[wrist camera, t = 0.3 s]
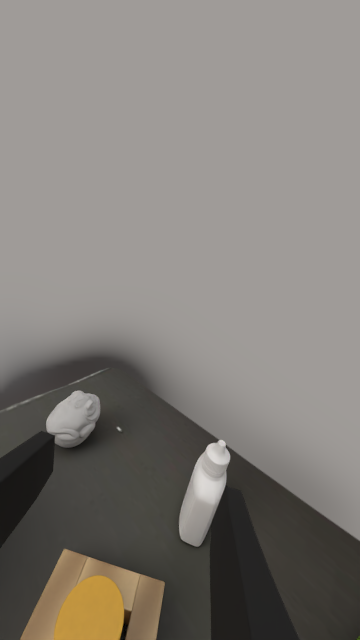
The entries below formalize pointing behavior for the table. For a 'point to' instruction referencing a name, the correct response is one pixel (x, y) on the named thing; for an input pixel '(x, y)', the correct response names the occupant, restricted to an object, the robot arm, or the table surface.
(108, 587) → the yellow peg
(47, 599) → the peg stand
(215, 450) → the eye dropper bottle
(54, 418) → the frog figurine
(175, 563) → the table surface
